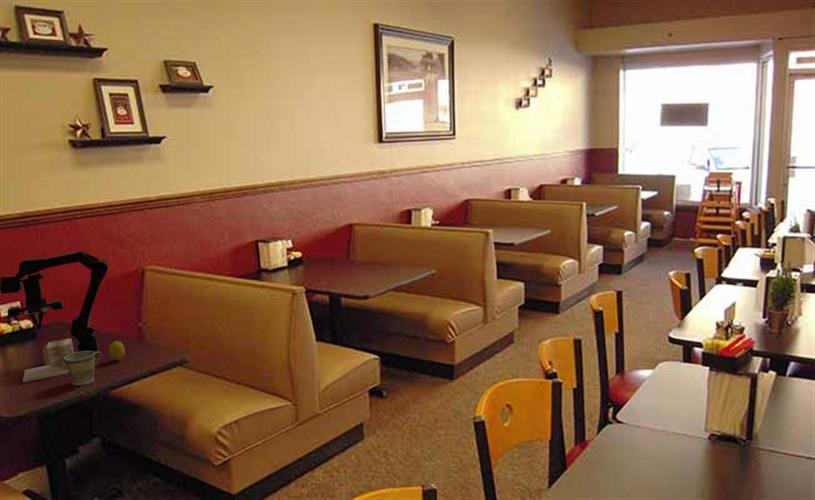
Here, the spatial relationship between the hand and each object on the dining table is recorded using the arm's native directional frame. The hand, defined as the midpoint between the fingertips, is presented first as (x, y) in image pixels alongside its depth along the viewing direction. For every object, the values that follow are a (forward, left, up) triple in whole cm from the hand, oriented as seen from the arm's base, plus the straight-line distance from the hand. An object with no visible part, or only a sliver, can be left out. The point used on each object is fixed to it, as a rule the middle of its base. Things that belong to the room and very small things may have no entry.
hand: (39, 329), depth 257 cm
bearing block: (-7, +17, -13) cm, 23 cm away
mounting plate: (-3, +17, -13) cm, 22 cm away
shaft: (-6, +17, -9) cm, 20 cm away
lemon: (-26, +19, -13) cm, 35 cm away
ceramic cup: (-15, +36, -13) cm, 41 cm away
